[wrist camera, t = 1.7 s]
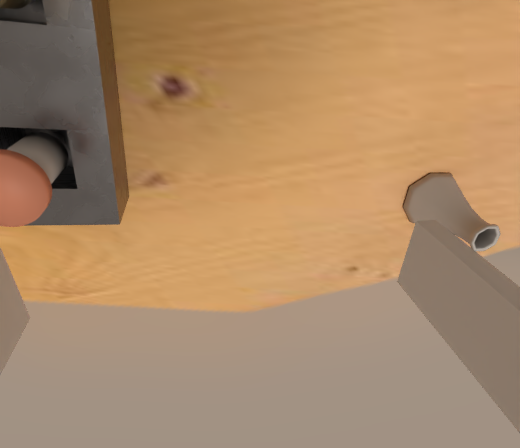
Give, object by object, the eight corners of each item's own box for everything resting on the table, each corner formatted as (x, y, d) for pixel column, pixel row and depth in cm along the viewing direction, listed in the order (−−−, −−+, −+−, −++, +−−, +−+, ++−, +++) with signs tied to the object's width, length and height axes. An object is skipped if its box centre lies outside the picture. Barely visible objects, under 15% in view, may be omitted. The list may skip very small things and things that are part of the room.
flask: (402, 228, 46) (451, 275, 37) (401, 181, 42) (456, 221, 33) (452, 212, 46) (513, 254, 37) (456, 163, 42) (524, 199, 33)
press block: (-87, -141, 22) (-169, -191, 17) (96, -109, 24) (73, -143, 19) (12, 195, 34) (-19, 225, 29) (129, 196, 36) (119, 224, 31)
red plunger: (1, 121, 26) (-59, 154, 20) (71, 124, 27) (36, 156, 21) (18, 181, 29) (-31, 227, 22) (82, 181, 30) (53, 226, 23)
